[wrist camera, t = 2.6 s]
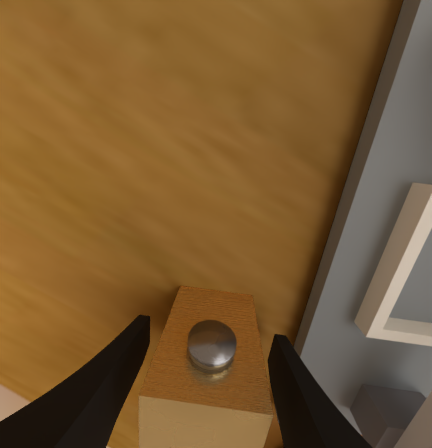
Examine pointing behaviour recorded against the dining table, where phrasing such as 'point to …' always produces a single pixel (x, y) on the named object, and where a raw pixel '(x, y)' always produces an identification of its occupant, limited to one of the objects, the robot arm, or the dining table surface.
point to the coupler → (207, 376)
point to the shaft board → (382, 258)
